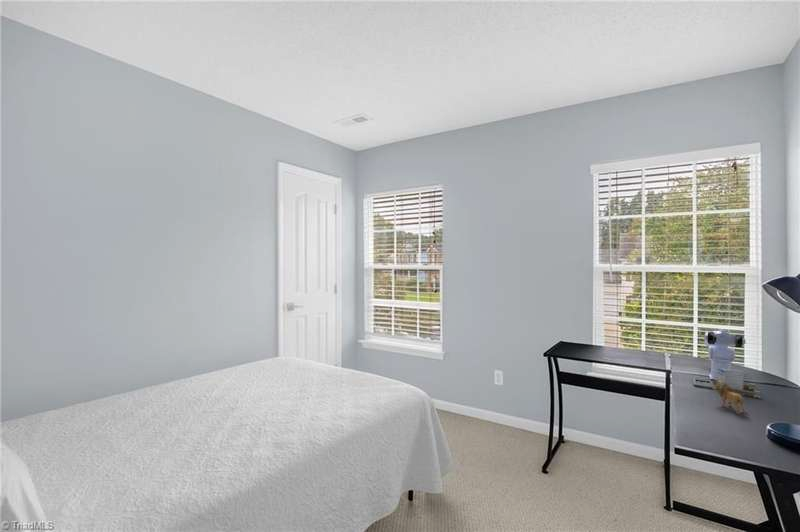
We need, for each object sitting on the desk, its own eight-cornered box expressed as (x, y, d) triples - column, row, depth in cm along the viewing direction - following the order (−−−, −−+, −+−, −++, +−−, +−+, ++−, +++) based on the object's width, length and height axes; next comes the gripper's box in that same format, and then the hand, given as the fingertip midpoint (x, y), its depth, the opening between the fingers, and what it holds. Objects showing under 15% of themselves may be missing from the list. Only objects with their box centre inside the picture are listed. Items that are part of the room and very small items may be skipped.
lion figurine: (709, 402, 154) (710, 379, 154) (722, 402, 154) (723, 380, 154) (741, 416, 140) (742, 392, 140) (756, 417, 140) (757, 392, 140)
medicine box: (735, 388, 174) (736, 369, 174) (743, 391, 169) (744, 372, 169) (716, 387, 175) (717, 368, 175) (724, 390, 170) (724, 370, 170)
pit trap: (692, 380, 184) (693, 378, 184) (711, 383, 180) (711, 381, 180) (693, 386, 175) (694, 384, 175) (713, 389, 171) (713, 387, 171)
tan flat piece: (714, 383, 181) (714, 377, 181) (754, 389, 173) (754, 384, 173) (717, 390, 169) (717, 385, 169) (760, 398, 161) (760, 392, 161)
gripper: (704, 328, 188) (705, 329, 177) (743, 332, 179) (748, 333, 168) (703, 342, 187) (705, 344, 176) (743, 347, 179) (747, 349, 168)
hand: (726, 340), depth 172 cm, fingers open, 7 cm apart
